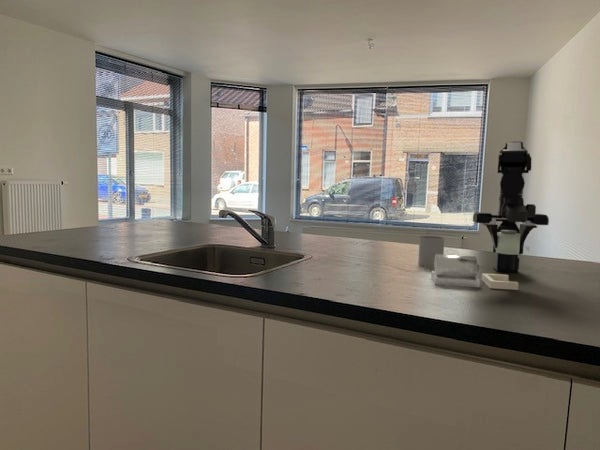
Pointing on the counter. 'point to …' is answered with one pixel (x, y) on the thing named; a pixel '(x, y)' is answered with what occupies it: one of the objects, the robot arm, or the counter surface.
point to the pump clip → (499, 281)
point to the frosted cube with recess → (508, 242)
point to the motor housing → (455, 271)
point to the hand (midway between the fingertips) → (507, 248)
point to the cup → (430, 249)
